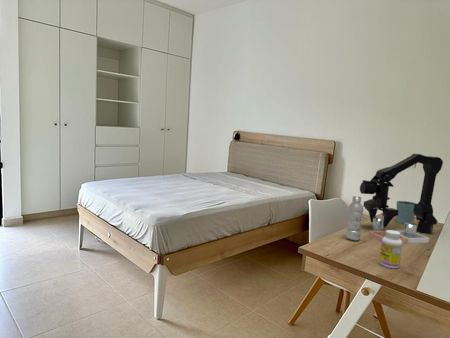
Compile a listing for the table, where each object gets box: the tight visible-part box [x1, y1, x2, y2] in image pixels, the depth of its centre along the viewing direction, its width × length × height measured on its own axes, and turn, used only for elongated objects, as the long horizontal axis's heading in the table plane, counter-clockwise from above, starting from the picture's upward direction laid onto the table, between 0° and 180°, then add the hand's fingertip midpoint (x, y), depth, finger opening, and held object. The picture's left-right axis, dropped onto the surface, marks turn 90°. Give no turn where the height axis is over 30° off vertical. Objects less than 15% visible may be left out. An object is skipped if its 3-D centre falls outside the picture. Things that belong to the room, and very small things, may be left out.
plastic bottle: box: [345, 196, 364, 241], centre depth 143 cm, size 6×7×20 cm
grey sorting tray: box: [367, 230, 431, 245], centre depth 146 cm, size 24×12×3 cm, turn 103°
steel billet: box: [371, 216, 384, 231], centre depth 160 cm, size 5×5×7 cm
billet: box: [403, 223, 418, 238], centre depth 147 cm, size 5×5×7 cm
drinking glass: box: [396, 200, 417, 225], centre depth 181 cm, size 10×10×12 cm
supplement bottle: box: [379, 229, 403, 269], centre depth 116 cm, size 7×7×13 cm
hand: (378, 224), depth 160 cm, fingers open, 9 cm apart
